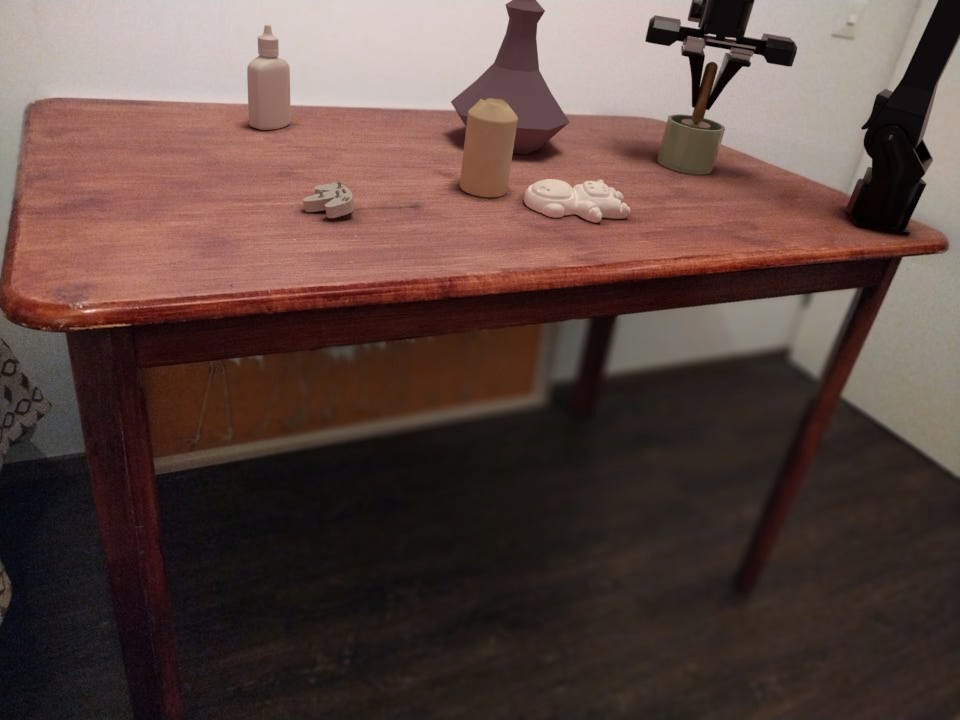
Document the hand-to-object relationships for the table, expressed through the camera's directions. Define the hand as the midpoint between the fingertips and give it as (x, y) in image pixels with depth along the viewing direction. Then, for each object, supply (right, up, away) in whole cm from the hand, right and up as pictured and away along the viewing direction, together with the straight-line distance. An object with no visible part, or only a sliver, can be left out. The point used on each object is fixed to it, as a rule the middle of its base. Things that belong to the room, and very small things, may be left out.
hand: (700, 108), depth 100 cm
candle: (-30, -15, -15) cm, 36 cm away
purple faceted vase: (-27, -4, +2) cm, 27 cm away
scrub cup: (-1, -7, +4) cm, 8 cm away
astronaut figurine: (-19, -17, -16) cm, 30 cm away
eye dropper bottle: (-57, -4, -5) cm, 57 cm away
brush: (-1, -5, +3) cm, 6 cm away
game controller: (-42, -19, -25) cm, 52 cm away
